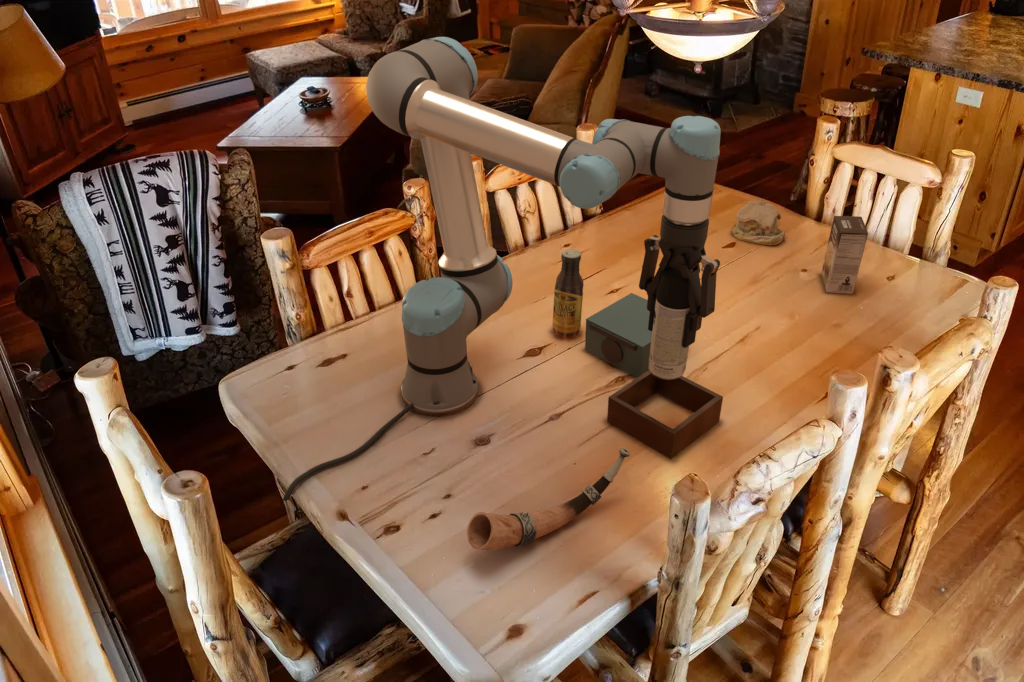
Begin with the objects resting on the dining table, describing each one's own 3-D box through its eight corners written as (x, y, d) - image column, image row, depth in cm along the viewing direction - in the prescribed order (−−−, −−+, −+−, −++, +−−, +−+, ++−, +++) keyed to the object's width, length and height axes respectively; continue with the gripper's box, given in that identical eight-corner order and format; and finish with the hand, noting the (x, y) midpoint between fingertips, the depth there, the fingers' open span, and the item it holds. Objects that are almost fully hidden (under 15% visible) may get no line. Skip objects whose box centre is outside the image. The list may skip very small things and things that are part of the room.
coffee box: (819, 274, 198) (833, 214, 189) (847, 275, 197) (861, 215, 188) (826, 293, 190) (840, 231, 181) (854, 294, 189) (869, 233, 181)
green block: (638, 380, 163) (641, 348, 159) (583, 351, 172) (584, 319, 168) (684, 349, 172) (687, 318, 167) (629, 323, 181) (631, 292, 176)
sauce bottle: (547, 335, 177) (548, 255, 166) (559, 321, 182) (561, 243, 171) (574, 342, 175) (577, 262, 164) (586, 328, 179) (589, 249, 168)
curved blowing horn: (463, 553, 126) (459, 507, 121) (615, 481, 139) (618, 437, 133) (480, 577, 122) (478, 531, 117) (635, 501, 135) (640, 456, 129)
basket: (671, 459, 143) (674, 434, 140) (606, 421, 152) (608, 396, 149) (719, 421, 152) (723, 396, 148) (655, 387, 161) (658, 363, 158)
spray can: (673, 356, 149) (685, 260, 138) (692, 376, 144) (706, 278, 133) (641, 363, 147) (651, 267, 136) (660, 384, 142) (671, 286, 131)
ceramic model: (723, 235, 217) (728, 200, 211) (742, 220, 224) (748, 187, 218) (772, 249, 209) (779, 214, 203) (791, 234, 216) (797, 200, 210)
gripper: (752, 228, 125) (730, 349, 138) (651, 191, 136) (640, 307, 149) (724, 243, 120) (705, 367, 133) (623, 204, 132) (614, 322, 145)
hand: (671, 335), depth 141 cm, fingers closed on spray can, 7 cm apart
